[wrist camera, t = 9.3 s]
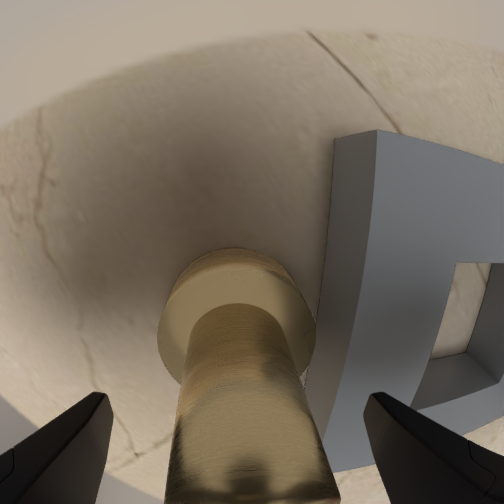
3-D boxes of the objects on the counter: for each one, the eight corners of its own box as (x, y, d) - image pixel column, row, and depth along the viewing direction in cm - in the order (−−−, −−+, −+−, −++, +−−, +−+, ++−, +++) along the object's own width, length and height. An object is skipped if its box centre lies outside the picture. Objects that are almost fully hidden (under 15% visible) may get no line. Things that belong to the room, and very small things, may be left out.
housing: (534, 188, 14) (575, 197, 10) (479, 387, 18) (506, 414, 14) (334, 138, 12) (377, 129, 8) (296, 426, 16) (310, 476, 13)
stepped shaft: (305, 249, 13) (443, 405, 4) (291, 363, 15) (350, 538, 5) (167, 245, 13) (58, 414, 3) (173, 362, 14) (139, 545, 5)
